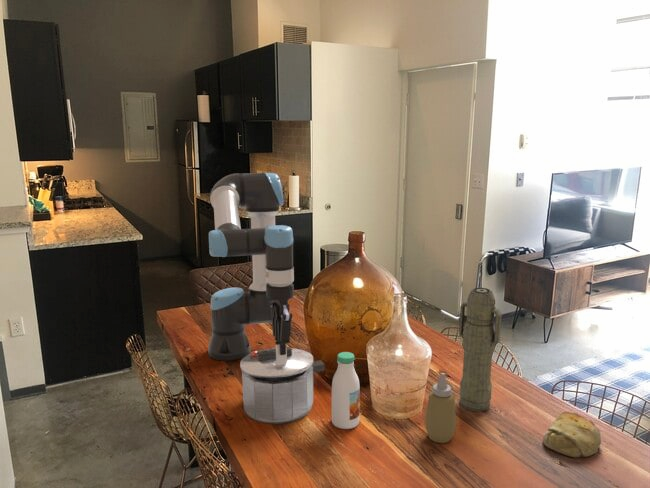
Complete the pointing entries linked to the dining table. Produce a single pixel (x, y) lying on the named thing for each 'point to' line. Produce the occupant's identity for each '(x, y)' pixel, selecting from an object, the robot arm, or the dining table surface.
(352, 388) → the milk bottle
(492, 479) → the dining table surface
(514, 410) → the dining table surface
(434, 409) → the squeeze bottle
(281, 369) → the lid
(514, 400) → the dining table surface
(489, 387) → the thermos
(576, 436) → the pastry
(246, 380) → the pot
